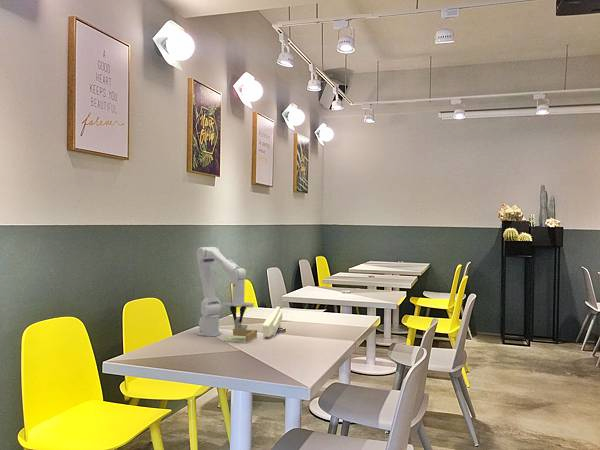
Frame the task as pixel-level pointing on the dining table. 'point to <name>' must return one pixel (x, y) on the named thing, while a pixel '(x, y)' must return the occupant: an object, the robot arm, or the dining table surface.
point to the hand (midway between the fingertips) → (238, 322)
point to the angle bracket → (239, 325)
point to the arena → (242, 336)
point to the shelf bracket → (272, 323)
